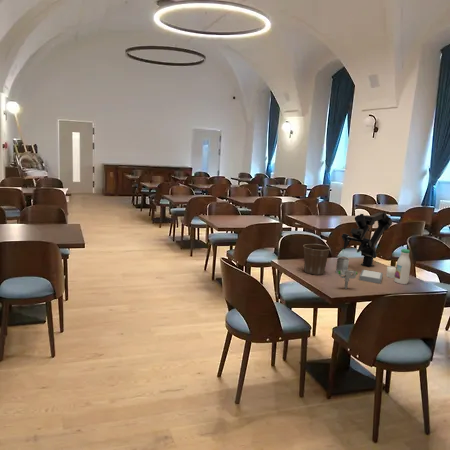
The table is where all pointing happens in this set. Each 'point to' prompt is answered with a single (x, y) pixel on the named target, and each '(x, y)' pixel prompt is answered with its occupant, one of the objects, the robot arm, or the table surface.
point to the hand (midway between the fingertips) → (350, 250)
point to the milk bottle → (403, 267)
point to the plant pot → (315, 258)
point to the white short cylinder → (391, 271)
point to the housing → (342, 264)
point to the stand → (371, 276)
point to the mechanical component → (347, 276)
